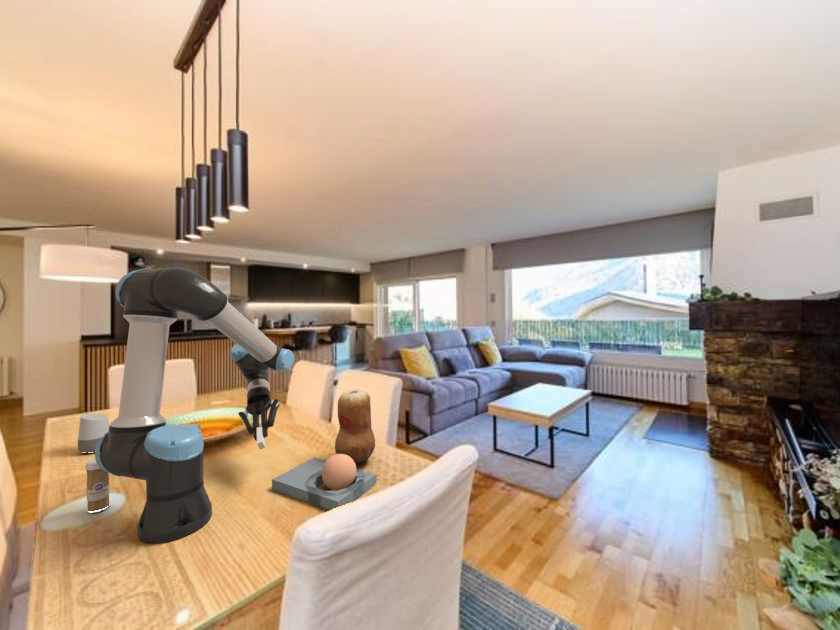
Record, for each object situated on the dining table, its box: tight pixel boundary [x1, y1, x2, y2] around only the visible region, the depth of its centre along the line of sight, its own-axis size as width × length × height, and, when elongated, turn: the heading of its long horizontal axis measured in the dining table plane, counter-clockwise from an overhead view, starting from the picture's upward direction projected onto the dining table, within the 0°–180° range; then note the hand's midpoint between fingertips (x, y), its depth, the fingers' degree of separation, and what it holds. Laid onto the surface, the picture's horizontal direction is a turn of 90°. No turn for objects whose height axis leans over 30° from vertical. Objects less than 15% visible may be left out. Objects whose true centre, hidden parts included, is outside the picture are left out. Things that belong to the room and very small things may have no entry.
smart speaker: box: [77, 413, 110, 453], centre depth 132 cm, size 10×9×14 cm
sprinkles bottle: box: [85, 457, 110, 511], centre depth 93 cm, size 5×5×14 cm
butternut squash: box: [334, 388, 376, 465], centre depth 121 cm, size 14×13×25 cm
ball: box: [322, 453, 357, 491], centre depth 103 cm, size 10×10×10 cm
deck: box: [271, 457, 378, 511], centre depth 105 cm, size 26×17×3 cm, turn 62°
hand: (261, 445), depth 105 cm, fingers closed
